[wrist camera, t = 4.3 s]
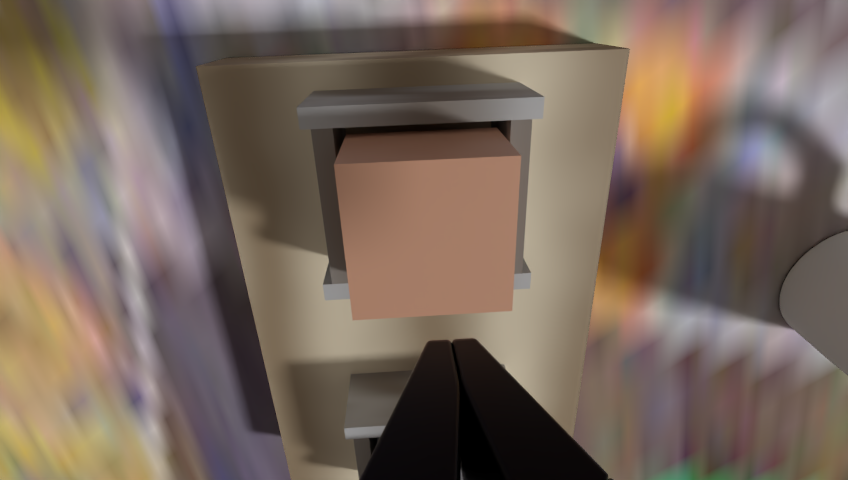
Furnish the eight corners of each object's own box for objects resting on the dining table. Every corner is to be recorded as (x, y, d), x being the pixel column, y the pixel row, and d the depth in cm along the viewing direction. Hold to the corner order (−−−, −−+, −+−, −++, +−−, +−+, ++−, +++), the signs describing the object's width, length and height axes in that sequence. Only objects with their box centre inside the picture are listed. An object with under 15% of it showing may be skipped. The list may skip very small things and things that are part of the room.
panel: (303, 439, 26) (280, 549, 21) (226, 58, 18) (151, 78, 12) (551, 422, 27) (590, 526, 22) (594, 42, 18) (679, 56, 13)
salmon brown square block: (360, 266, 16) (352, 320, 13) (346, 134, 14) (333, 164, 11) (492, 259, 16) (512, 311, 13) (497, 127, 14) (521, 155, 11)
